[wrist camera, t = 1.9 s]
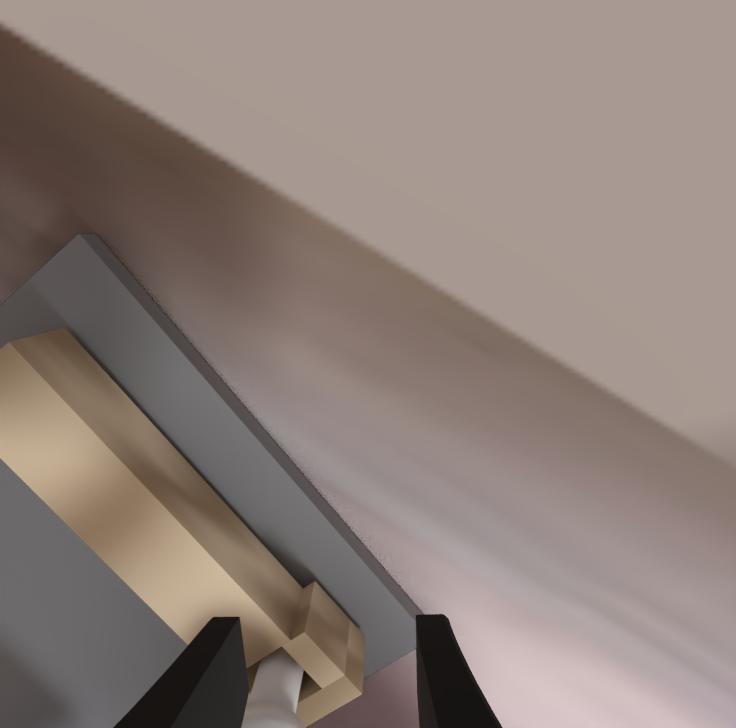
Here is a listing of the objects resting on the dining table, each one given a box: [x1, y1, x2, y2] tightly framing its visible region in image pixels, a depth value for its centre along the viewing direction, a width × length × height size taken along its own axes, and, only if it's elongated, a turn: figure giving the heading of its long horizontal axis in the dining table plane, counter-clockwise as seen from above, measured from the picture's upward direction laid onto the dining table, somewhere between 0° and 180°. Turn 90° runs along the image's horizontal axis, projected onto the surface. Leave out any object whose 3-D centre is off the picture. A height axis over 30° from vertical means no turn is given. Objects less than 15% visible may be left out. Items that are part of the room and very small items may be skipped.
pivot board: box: [0, 234, 424, 728], centre depth 17 cm, size 24×20×6 cm
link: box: [0, 328, 365, 727], centre depth 17 cm, size 16×4×2 cm, turn 37°
